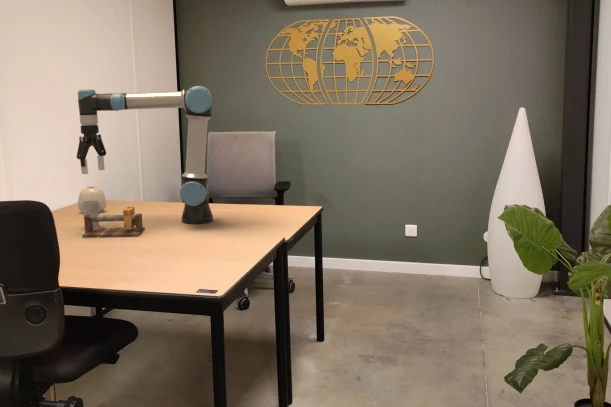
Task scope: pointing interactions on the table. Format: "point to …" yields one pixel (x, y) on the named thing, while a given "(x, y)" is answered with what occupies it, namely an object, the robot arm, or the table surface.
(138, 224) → the pipe stand
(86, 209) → the cup
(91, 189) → the vase
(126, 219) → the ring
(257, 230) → the table surface
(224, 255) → the table surface
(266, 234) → the table surface
